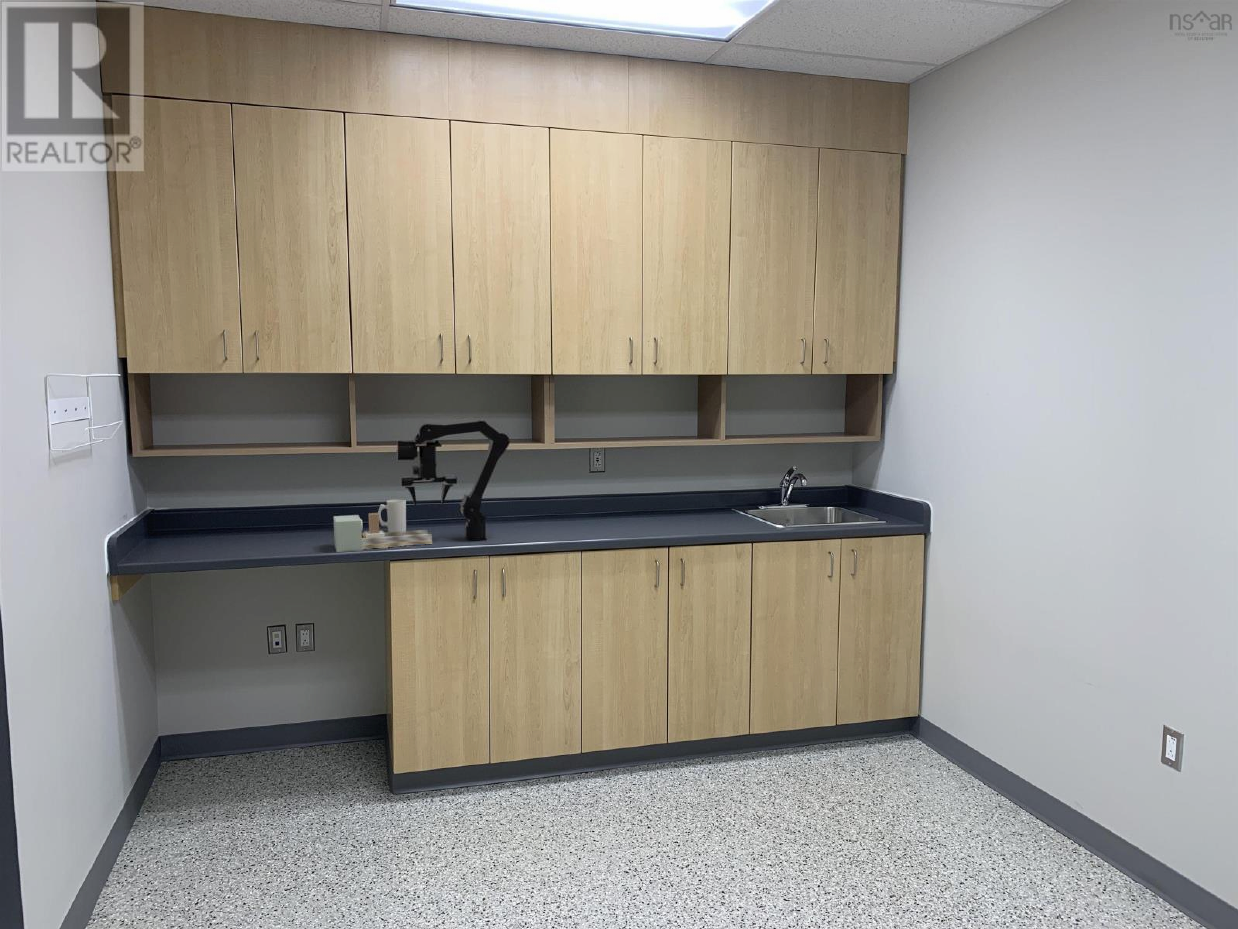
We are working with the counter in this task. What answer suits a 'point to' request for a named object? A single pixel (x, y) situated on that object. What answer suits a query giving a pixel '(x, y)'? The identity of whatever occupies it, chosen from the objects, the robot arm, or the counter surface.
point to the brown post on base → (374, 527)
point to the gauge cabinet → (348, 533)
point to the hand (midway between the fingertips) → (428, 504)
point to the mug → (394, 515)
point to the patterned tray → (398, 539)
